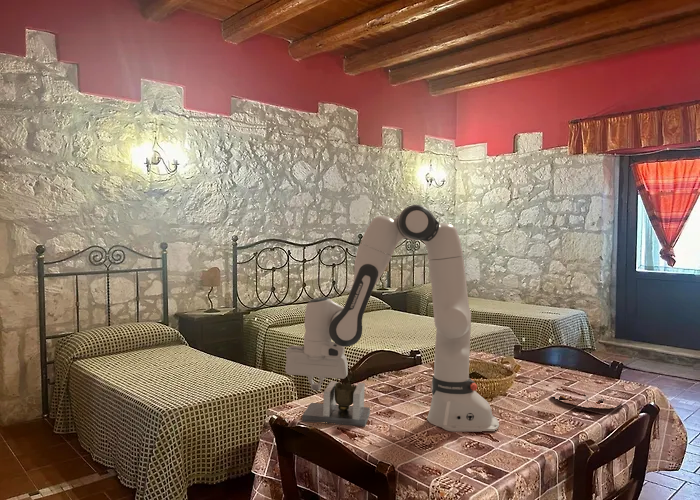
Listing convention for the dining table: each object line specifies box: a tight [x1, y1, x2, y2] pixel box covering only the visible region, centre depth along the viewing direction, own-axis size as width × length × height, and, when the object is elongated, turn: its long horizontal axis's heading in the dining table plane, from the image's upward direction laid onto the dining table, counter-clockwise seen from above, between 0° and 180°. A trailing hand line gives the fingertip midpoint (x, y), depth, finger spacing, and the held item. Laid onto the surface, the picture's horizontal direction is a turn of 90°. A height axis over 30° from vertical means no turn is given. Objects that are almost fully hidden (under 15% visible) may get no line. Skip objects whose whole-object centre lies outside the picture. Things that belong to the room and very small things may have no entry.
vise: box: [301, 382, 371, 428], centre depth 177 cm, size 20×12×10 cm, turn 81°
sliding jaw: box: [322, 380, 338, 417], centre depth 177 cm, size 2×12×8 cm, turn 171°
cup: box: [334, 382, 357, 411], centre depth 178 cm, size 8×7×8 cm
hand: (315, 389), depth 178 cm, fingers closed
